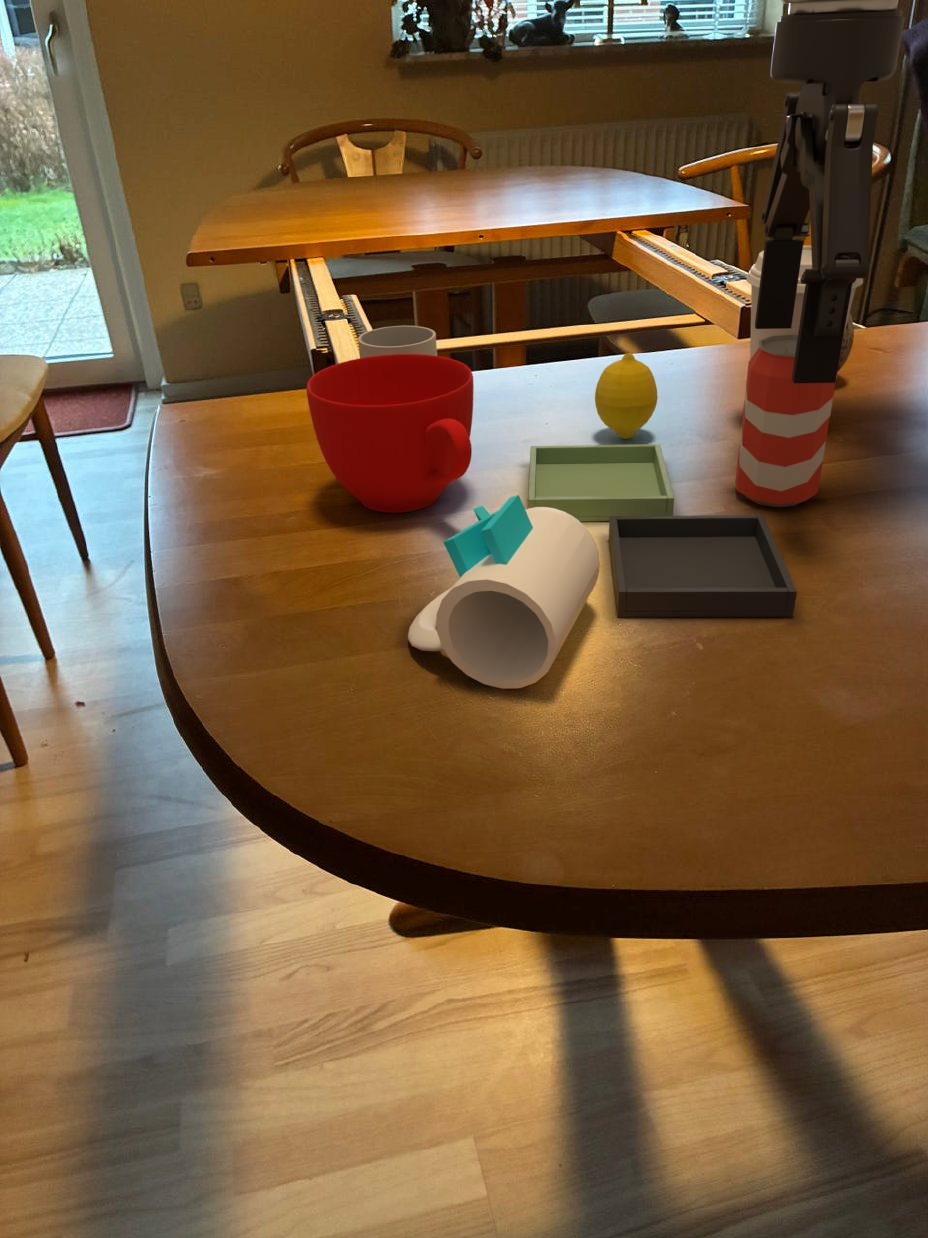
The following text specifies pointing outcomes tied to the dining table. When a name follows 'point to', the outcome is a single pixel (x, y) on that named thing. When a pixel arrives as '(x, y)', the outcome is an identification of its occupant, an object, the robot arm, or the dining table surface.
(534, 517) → the mug
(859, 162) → the robot arm
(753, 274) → the coffee cup
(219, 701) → the dining table surface
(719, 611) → the charcoal tray
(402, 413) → the ceramic cup
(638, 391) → the fruit
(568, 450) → the green tray
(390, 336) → the cup
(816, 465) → the beverage can
